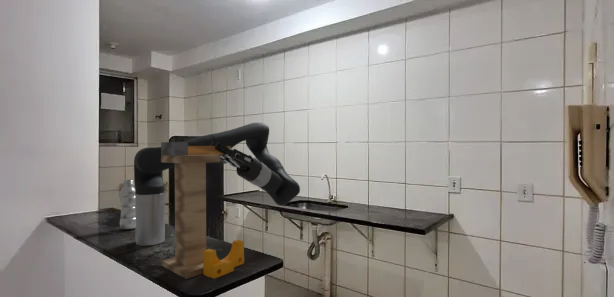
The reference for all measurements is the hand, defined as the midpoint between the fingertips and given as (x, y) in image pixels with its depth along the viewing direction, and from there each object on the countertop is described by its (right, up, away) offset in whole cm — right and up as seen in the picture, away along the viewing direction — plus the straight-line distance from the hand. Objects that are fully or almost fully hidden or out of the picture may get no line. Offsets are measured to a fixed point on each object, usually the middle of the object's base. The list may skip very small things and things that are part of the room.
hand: (214, 145), depth 96 cm
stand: (-5, -34, -6) cm, 35 cm away
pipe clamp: (+6, -34, -8) cm, 35 cm away
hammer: (-3, -3, -3) cm, 5 cm away
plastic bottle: (-45, -34, +37) cm, 68 cm away
